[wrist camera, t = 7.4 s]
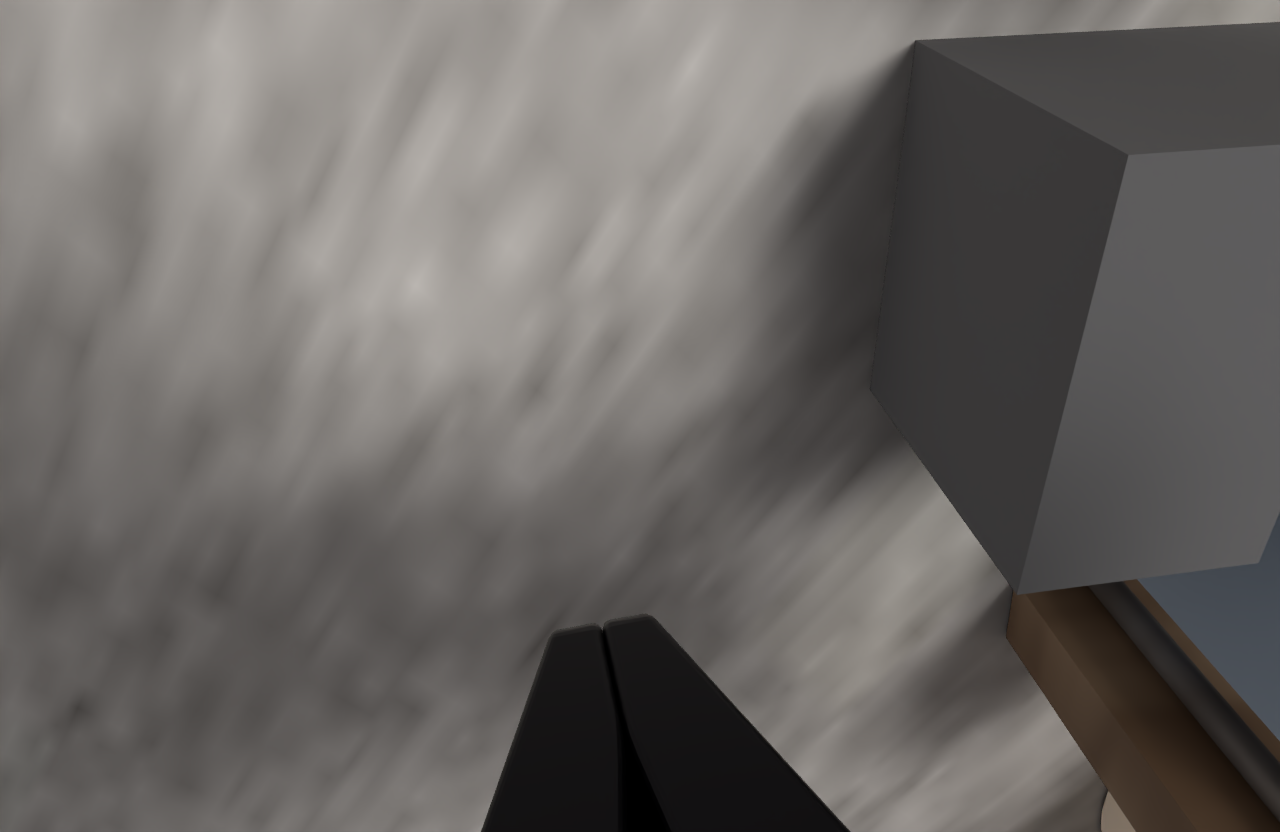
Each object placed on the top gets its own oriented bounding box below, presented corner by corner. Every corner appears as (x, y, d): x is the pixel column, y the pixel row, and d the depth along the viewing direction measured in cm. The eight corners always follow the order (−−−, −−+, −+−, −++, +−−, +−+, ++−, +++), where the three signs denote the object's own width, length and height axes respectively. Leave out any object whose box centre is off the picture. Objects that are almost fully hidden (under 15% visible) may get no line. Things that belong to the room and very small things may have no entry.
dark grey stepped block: (1226, 348, 16) (1482, 533, 12) (866, 384, 15) (1016, 594, 11) (1340, 16, 13) (1718, 114, 9) (910, 37, 12) (1129, 154, 9)
